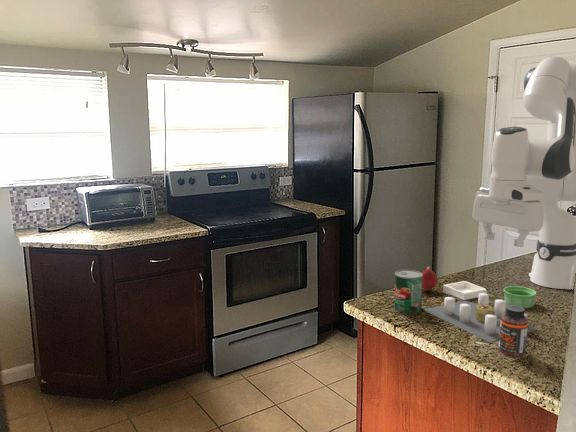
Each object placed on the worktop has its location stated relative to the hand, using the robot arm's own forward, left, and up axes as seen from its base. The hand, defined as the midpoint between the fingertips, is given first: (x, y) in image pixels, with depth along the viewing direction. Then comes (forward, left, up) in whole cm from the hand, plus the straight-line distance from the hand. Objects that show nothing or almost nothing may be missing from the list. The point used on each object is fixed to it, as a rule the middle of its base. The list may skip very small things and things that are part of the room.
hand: (503, 242), depth 137 cm
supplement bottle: (+11, +14, -23) cm, 29 cm away
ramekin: (-17, -8, -23) cm, 30 cm away
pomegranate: (-1, -30, -23) cm, 38 cm away
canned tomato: (+15, -20, -23) cm, 34 cm away
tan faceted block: (+2, -4, -22) cm, 23 cm away
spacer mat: (+3, -5, -23) cm, 24 cm away
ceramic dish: (-9, -22, -23) cm, 33 cm away
